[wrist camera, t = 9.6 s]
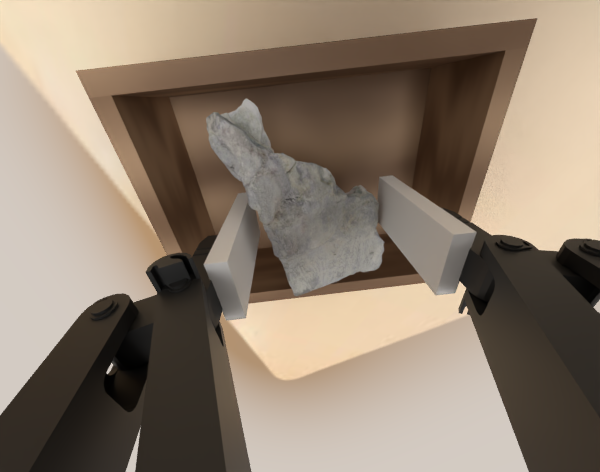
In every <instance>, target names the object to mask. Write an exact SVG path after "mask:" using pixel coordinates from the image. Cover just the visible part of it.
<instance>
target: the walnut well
mask: <svg viewBox="0 0 600 472" xmlns="http://www.w3.org/2000/svg"><path fill="white" fill-rule="evenodd" d="M536 21H537V18H535V19H526V20H518V21H509V22H500V23H491V24H482V25H474V26H465V27H456V28H447V29H439V30H430V31H421V32H412V33H403V34H395V35H386V36H377V37H368V38H359V39H351V40H342V41H333V42H324V43H316V44H307V45H298V46H289V47H280V48H272V49H263V50H254V51H245V52H236V53H228V54H219V55H210V56H201V57H193V58H184V59H175V60H166V61H157V62H149V63H140V64H131V65H122V66H113V67H105V68H96V69H87V70H78V71H76V72H77V74H78V76H79V78H80V81H81V83H82V85H83V87H84V89H85V91H86V93H87V95H88V97H89V99H90V101H91V103H92V105H93V107H94V109H95V111H96V113H97V115H98V117H99V119H100V121H101V123H102V125H103V127H104V129H105V131H106V133H107V135H108V137H109V139H110V141H111V143H112V145H113V147H114V149H115V151H116V153H117V155H118V157H119V159H120V161H121V163H122V165H123V167H124V169H125V171H126V173H127V175H128V177H129V179H130V181H131V183H132V185H133V187H134V189H135V191H136V193H137V195H138V197H139V199H140V201H141V204H142V206H143V208H144V210H145V212H146V214H147V216H148V218H149V220H150V222H151V224H152V226H153V228H154V230H155V232H156V234H157V236H158V238H159V240H160V242H161V244H162V246H163V248H164V250H165V252H166V253H167V255H170V254H174V253H188V254H190V255H191V256H193V254H194V252H195V251H196V249H197V247H198V245H199V243H200V242H201V241H202V240H204V239H205V238H206V237H207V236H211V235H218V234H219V232H220V230H221V228H222V226H223V224H224V222H225V220H226V218H227V215H228V213H229V211H230V209H231V207H232V205H233V203H234V201H235V199H236V197H237V195H238V193H246V190H245V187H244V186H243V182H241V181H239V180H238V179H237V178H235V177H234V176H233V175H232V174H231V172H230V171H229V170H228V168H227V167H226V166H225V164H224V163H223V162H222V161H221V160H220V159H219V157H218V156H217V155H216V153H215V152H214V150H213V149H212V148H211V145H210V142H209V133H208V131H207V123H206V118H207V117H208V116H209V115H211V114H212V113H213V112H218V113H219V114H220V115H221V114H224V113H230V112H232V111H236V110H237V108H238V107H239V106H241V105H242V103H243V101H244V100H245V99H248V100H250V101H251V102H253V103H254V104H255V105H256V106H257V107H258V110H259V113H260V115H261V117H262V123H263V128H264V131H265V132H266V134H267V136H268V139H269V140H270V144H271V148H272V149H273V150H274V153H279V154H280V153H284V154H285V155H287V156H290V157H292V158H294V160H295V161H301V162H307V163H311V162H312V163H315V164H317V165H319V166H321V167H323V168H327V169H328V170H329V171H330V172H331V174H332V175H333V177H334V178H335V182H336V185H337V186H338V187H339V188H340V189H342V190H343V191H344V192H345V193H348V192H350V191H351V190H352V189H353V187H355V186H359V185H361V186H363V187H364V188H365V189H366V190H367V191H368V192H370V193H372V194H373V196H374V197H375V198H376V200H377V199H378V187H379V177H383V176H392V175H393V176H394V177H396V178H397V179H399V180H400V181H401V182H403V183H404V184H406V185H407V186H409V187H410V188H412V189H413V190H415V191H416V192H418V193H419V194H421V195H422V196H424V197H425V198H427V199H428V200H430V201H431V202H433V203H434V204H436V205H437V206H439V207H440V208H445V209H448V210H451V211H454V212H456V213H457V214H459V215H460V216H462V218H465V219H467V220H468V221H469V222H470V221H471V218H472V215H473V212H474V209H475V206H476V203H477V200H478V197H479V194H480V191H481V188H482V185H483V182H484V179H485V176H486V173H487V170H488V166H489V163H490V160H491V157H492V154H493V151H494V148H495V145H496V142H497V139H498V136H499V133H500V130H501V127H502V124H503V121H504V118H505V115H506V112H507V109H508V106H509V103H510V100H511V97H512V94H513V90H514V87H515V84H516V81H517V78H518V75H519V72H520V69H521V66H522V63H523V60H524V57H525V54H526V51H527V48H528V45H529V42H530V39H531V36H532V33H533V30H534V27H535V24H536ZM255 211H256V210H255ZM256 215H257V220H258V224H259V229H260V238H259V244H258V250H257V256H256V262H255V267H254V273H253V279H252V285H251V291H250V297H249V302H248V303H257V302H265V301H274V300H282V299H291V298H299V297H308V296H316V295H325V294H333V293H342V292H350V291H359V290H367V289H376V288H384V287H393V286H401V285H410V284H418V283H426V282H425V281H424V280H423V279H422V277H421V276H420V275H419V273H418V272H417V271H416V270H415V268H414V267H413V266H412V265H411V263H410V262H409V261H408V260H407V258H406V257H405V256H404V254H403V253H402V252H401V251H400V249H399V248H398V247H397V246H396V244H395V243H394V242H393V241H392V239H391V238H390V237H389V235H388V234H387V233H386V232H385V230H384V229H383V228H382V227H381V225H380V224H379V223H378V224H377V227H376V229H377V232H378V234H379V236H380V237H381V239H382V240H383V241H384V244H383V245H384V252H383V254H382V263H381V265H380V267H379V268H378V269H376V270H374V271H368V272H361V271H359V272H356V273H355V274H354V275H349V276H347V277H345V278H343V279H341V280H339V281H336V282H334V283H331V284H329V285H326V286H324V287H321V288H318V289H315V290H312V291H310V292H308V293H305V294H302V295H299V296H295V295H294V293H293V290H292V288H291V286H290V285H289V282H288V280H287V277H286V272H285V270H284V267H283V264H282V262H281V261H280V260H279V258H278V257H276V256H275V255H274V252H273V247H272V243H271V241H270V240H269V238H268V235H267V233H266V232H265V229H264V227H263V223H262V222H261V221H260V220H259V215H258V212H257V211H256Z"/></svg>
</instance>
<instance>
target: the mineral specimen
mask: <svg viewBox="0 0 600 472" xmlns="http://www.w3.org/2000/svg"><path fill="white" fill-rule="evenodd" d="M206 123H207V131H208V133H209V142H210V145H211V148H212V149H213V150H214V152H215V153H216V155H217V156H218V157H219V159H220V160H221V161H222V162H223V163H224V164H225V166H226V167H227V168H228V170H229V171H230V172H231V174H232V175H233V176H234V177H235V178H237V179H238V180H239V181H241V182H243V186H244V187H245V190H246V194H247V198H248V204H249V206H250V208H251V209H254V210H256V211H257V212H258V215H259V220H260V221H261V222H262V223H263V227H264V229H265V232H266V233H267V235H268V238H269V240H270V241H271V243H272V247H273V252H274V255H275V256H276V257H278V258H279V260H280V261H281V262H282V264H283V267H284V270H285V272H286V277H287V280H288V282H289V285H290V286H291V288H292V290H293V293H294V295H295V296H299V295H302V294H305V293H308V292H310V291H312V290H315V289H318V288H321V287H324V286H326V285H329V284H331V283H334V282H336V281H339V280H341V279H343V278H345V277H347V276H349V275H354V274H355V273H356V272H359V271H361V272H368V271H374V270H376V269H378V268H379V267H380V265H381V263H382V254H383V252H384V245H383V244H384V241H383V240H382V239H381V237H380V236H379V234H378V232H377V229H376V227H377V224H378V214H379V213H378V209H379V202H378V201H377V200H376V198H375V197H374V196H373V194H372V193H370V192H368V191H367V190H366V189H365V188H364V187H363V186H361V185H359V186H355V187H353V189H352V190H351V191H350V192H348V193H345V192H344V191H343V190H342V189H340V188H339V187H338V186H337V185H336V182H335V178H334V177H333V175H332V174H331V172H330V171H329V170H328V169H327V168H323V167H321V166H319V165H317V164H315V163H312V162H311V163H307V162H301V161H295V160H294V158H292V157H290V156H287V155H285V154H284V153H280V154H279V153H274V150H273V149H272V148H271V144H270V140H269V139H268V136H267V134H266V132H265V131H264V128H263V123H262V117H261V115H260V113H259V110H258V107H257V106H256V105H255V104H254V103H253V102H251V101H250V100H248V99H245V100H244V101H243V103H242V105H241V106H239V107H238V108H237V110H236V111H232V112H230V113H224V114H221V115H220V114H219V113H218V112H213V113H212V114H211V115H209V116H208V117H207V118H206Z"/></svg>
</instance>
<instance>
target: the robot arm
mask: <svg viewBox="0 0 600 472" xmlns="http://www.w3.org/2000/svg"><path fill="white" fill-rule="evenodd" d="M377 201H378V202H379V209H378V213H379V214H378V223H379V224H380V225H381V227H382V228H383V229H384V230H385V232H386V233H387V234H388V235H389V237H390V238H391V239H392V241H393V242H394V243H395V244H396V246H397V247H398V248H399V249H400V251H401V252H402V253H403V254H404V256H405V257H406V258H407V260H408V261H409V262H410V263H411V265H412V266H413V267H414V268H415V270H416V271H417V272H418V273H419V275H420V276H421V277H422V279H423V280H424V281H425V282H426V284H427V285H428V286H429V287H430V289H431V290H432V291H433V292H434V294H435V295H443V294H451V293H455V292H456V289H457V286H458V284H459V281H460V282H461V283H462V284H463V285H464V286H465V287H466V291H465V293H464V296H463V299H462V301H461V304H460V306H459V313H461V314H462V313H463V310H464V308H465V307H466V306H467V308H468V312H467V314H468V315H470V316H471V318H472V321H473V324H474V326H475V329H476V331H477V334H478V337H479V340H480V342H481V345H482V347H483V350H484V353H485V355H486V358H487V361H488V364H489V366H490V369H491V371H492V374H493V377H494V380H495V382H496V385H497V388H498V390H499V393H500V396H501V398H502V401H503V404H504V406H505V409H506V412H507V414H508V417H509V419H510V422H511V425H512V428H513V430H514V433H515V436H516V438H517V441H518V444H519V446H520V449H521V451H522V454H523V457H524V459H525V462H526V465H527V468H528V470H529V472H600V313H598V312H597V311H596V310H595V309H594V308H593V307H594V306H595V305H596V303H597V302H598V301H599V300H600V241H598V240H592V239H569V240H567V241H565V242H564V243H563V245H562V247H561V248H560V250H559V252H557V251H542V250H538V249H537V248H536V247H535V246H533V245H532V244H531V243H529V242H527V241H525V240H522V239H519V238H516V237H512V236H506V235H493V236H492V235H490V234H488V233H487V232H485V231H484V230H482V229H481V228H479V227H477V226H476V225H474V224H473V223H470V222H469V221H468V220H467V219H465V218H462V216H460V215H459V214H457V213H456V212H454V211H451V210H448V209H445V208H440V207H439V206H437V205H436V204H434V203H433V202H431V201H430V200H428V199H427V198H425V197H424V196H422V195H421V194H419V193H418V192H416V191H415V190H413V189H412V188H410V187H409V186H407V185H406V184H404V183H403V182H401V181H400V180H399V179H397V178H396V177H394V176H393V175H392V176H383V177H379V187H378V199H377ZM259 238H260V229H259V224H258V220H257V215H256V211H255V210H254V209H251V208H250V206H249V204H248V198H247V194H246V193H238V195H237V197H236V199H235V201H234V203H233V205H232V207H231V209H230V211H229V213H228V215H227V218H226V220H225V222H224V224H223V226H222V228H221V230H220V232H219V234H218V235H211V236H207V237H206V238H205V239H204V240H202V241H201V242H200V243H199V245H198V247H197V249H196V251H195V252H194V254H193V256H191V255H190V254H188V253H174V254H170V255H167V256H165V257H162V258H160V259H159V260H157V261H155V262H154V263H153V264H152V265H150V266H149V267H148V269H147V271H146V274H147V276H148V277H149V279H150V281H151V282H152V284H153V286H154V287H155V289H156V291H157V295H155V296H152V297H149V298H146V299H143V300H140V301H137V302H134V303H133V301H132V300H131V299H130V297H129V296H128V295H126V294H115V295H111V296H108V297H105V298H103V299H100V300H98V301H97V302H95V303H94V304H93V305H91V306H90V307H88V308H87V309H86V310H85V311H84V312H83V313H82V314H81V315H80V316H79V317H78V319H77V320H76V321H75V322H74V324H73V325H72V326H71V327H70V329H69V330H68V331H67V332H66V334H65V335H64V336H63V338H62V339H61V340H60V341H59V342H58V344H57V345H56V346H55V347H54V349H53V350H52V351H51V352H50V354H49V355H48V356H47V358H46V359H45V360H44V361H43V363H42V364H41V365H40V366H39V368H38V369H37V370H36V371H35V373H34V374H33V375H32V377H31V378H30V379H29V380H28V381H27V383H26V384H25V385H24V386H23V388H22V389H21V390H20V391H19V393H18V394H17V395H16V396H15V398H14V399H13V400H12V401H11V403H10V404H9V405H8V406H7V408H6V409H5V410H4V411H3V413H2V414H1V415H0V472H125V471H126V468H127V465H128V462H129V459H130V456H131V453H132V450H133V447H134V444H135V441H136V438H137V435H138V432H139V429H140V426H141V429H140V438H139V446H138V454H137V462H136V470H135V472H251V468H250V463H249V458H248V454H247V448H246V443H245V438H244V433H243V428H242V423H241V418H240V413H239V408H238V404H237V398H236V394H235V389H234V384H233V379H232V373H231V368H230V363H229V359H228V354H227V349H226V344H225V339H224V334H223V329H222V326H221V324H220V322H219V320H220V317H221V313H222V311H223V314H224V316H225V319H226V320H234V319H242V318H246V314H247V308H248V302H249V297H250V291H251V285H252V279H253V273H254V267H255V262H256V256H257V250H258V244H259ZM111 363H112V364H113V367H112V369H111V371H110V372H109V374H106V372H107V370H108V368H109V366H110V364H111Z"/></svg>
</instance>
